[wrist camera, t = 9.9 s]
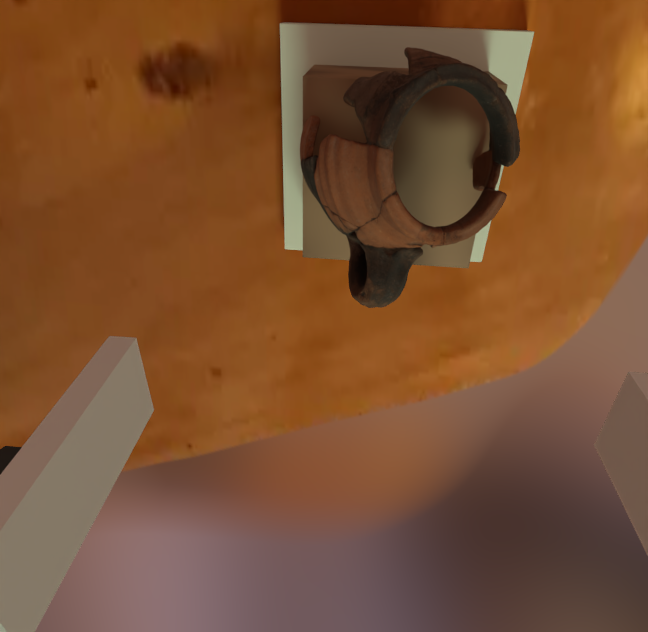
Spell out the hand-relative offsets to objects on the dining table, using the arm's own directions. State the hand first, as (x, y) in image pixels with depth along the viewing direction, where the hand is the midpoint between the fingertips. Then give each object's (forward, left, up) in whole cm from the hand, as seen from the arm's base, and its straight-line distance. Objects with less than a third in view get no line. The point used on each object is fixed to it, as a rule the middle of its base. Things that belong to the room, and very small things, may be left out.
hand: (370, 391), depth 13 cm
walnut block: (+1, +1, -21) cm, 21 cm away
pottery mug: (+1, +1, -17) cm, 17 cm away
